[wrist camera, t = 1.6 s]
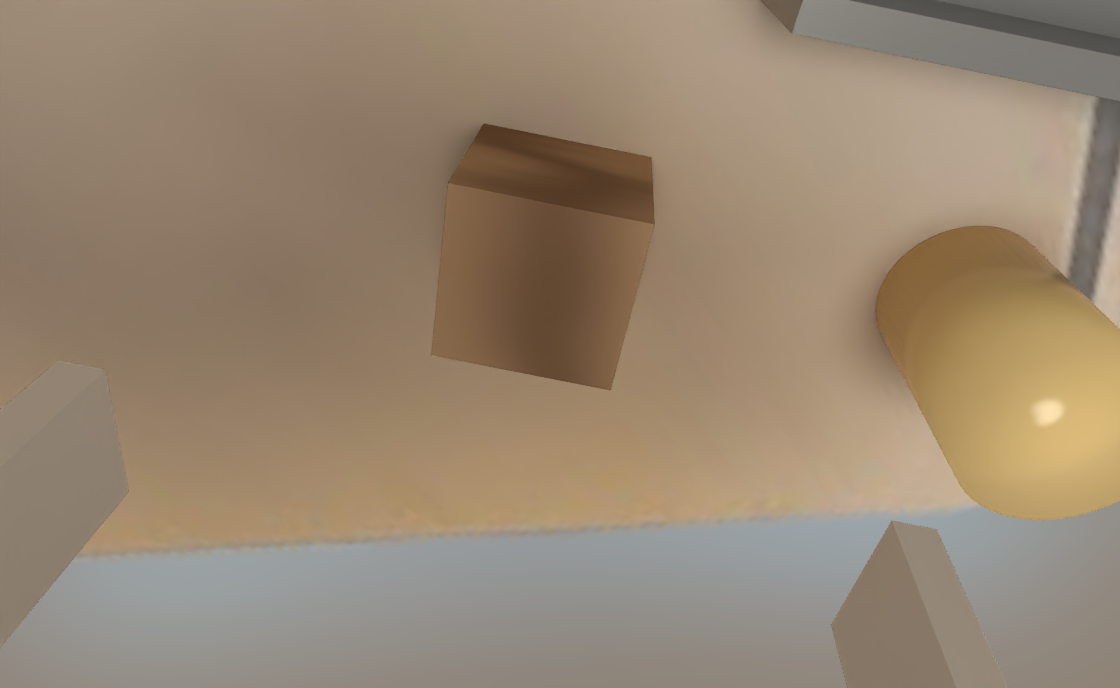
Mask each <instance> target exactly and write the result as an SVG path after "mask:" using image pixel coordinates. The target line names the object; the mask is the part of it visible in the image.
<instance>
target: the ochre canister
mask: <svg viewBox="0 0 1120 688" xmlns="http://www.w3.org/2000/svg"><path fill="white" fill-rule="evenodd" d="M876 320H877V324H878V328H879V330H880V333H881V335H882V337H883V339H884V341H885V343H886V345H887V346H888V348H889V350H890V352H891V354H892V356H893V358H894V360H895V362H896V364H897V366H898V368H899V369H900V371H901V373H902V375H903V377H904V379H905V381H906V383H907V385H908V387H909V389H910V391H911V392H912V394H913V396H914V398H915V400H916V402H917V404H918V406H919V408H920V410H921V412H922V414H923V415H924V417H925V419H926V421H927V423H928V425H929V427H930V429H931V431H932V433H933V435H934V437H935V438H936V440H937V442H938V444H939V446H940V448H941V450H942V452H943V454H944V456H945V458H946V460H947V462H948V463H949V465H950V467H951V469H952V471H953V473H954V475H955V477H956V479H957V481H958V483H959V484H960V486H961V487H962V489H963V490H964V492H965V493H966V494H967V495H968V496H969V497H970V498H971V499H973V500H974V501H975V502H977V503H978V504H979V505H981V506H983V507H985V508H987V509H988V510H990V511H993V512H996V513H998V514H1001V515H1005V516H1010V517H1013V518H1020V519H1029V520H1049V519H1059V518H1068V517H1073V516H1077V515H1082V514H1086V513H1089V512H1093V511H1096V510H1099V509H1101V508H1103V507H1106V506H1109V505H1111V504H1114V503H1116V502H1118V501H1120V329H1119V328H1118V327H1117V326H1116V325H1115V324H1114V323H1113V322H1112V321H1111V320H1110V319H1109V318H1108V317H1107V316H1106V315H1105V314H1104V313H1102V312H1101V311H1100V310H1099V309H1098V308H1097V307H1096V306H1095V305H1094V304H1093V303H1092V302H1091V301H1090V300H1089V299H1088V298H1087V297H1086V296H1085V295H1084V294H1083V293H1082V292H1081V291H1080V290H1078V289H1077V288H1076V287H1075V286H1074V285H1073V284H1072V283H1071V282H1070V281H1069V280H1068V279H1067V278H1066V277H1065V276H1064V275H1063V274H1062V273H1061V272H1060V271H1059V270H1058V269H1057V268H1056V267H1055V266H1053V265H1052V264H1051V263H1050V262H1049V261H1048V260H1047V259H1046V258H1045V257H1044V256H1043V255H1042V254H1041V253H1040V252H1039V251H1038V250H1037V249H1036V248H1035V247H1034V246H1033V245H1031V244H1030V243H1029V242H1028V241H1027V240H1026V239H1024V238H1023V237H1021V236H1019V235H1018V234H1015V233H1013V232H1011V231H1008V230H1005V229H1001V228H997V227H990V226H971V227H962V228H958V229H953V230H949V231H946V232H943V233H940V234H938V235H936V236H933V237H931V238H929V239H927V240H925V241H924V242H922V243H920V244H918V245H917V246H916V247H914V248H913V249H911V250H910V251H909V252H907V253H906V254H905V255H904V256H903V257H902V258H901V259H900V260H899V261H898V262H897V263H896V264H895V265H894V266H893V268H892V269H891V270H890V272H889V273H888V275H887V276H886V278H885V280H884V282H883V283H882V286H881V288H880V291H879V293H878V297H877V302H876Z"/></svg>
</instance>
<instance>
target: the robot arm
mask: <svg viewBox="0 0 1120 688" xmlns="http://www.w3.org/2000/svg"><path fill="white" fill-rule="evenodd" d="M128 492H129V489H128V484H127V479H126V474H125V469H124V463H123V458H122V453H121V448H120V443H119V438H118V432H117V427H116V422H115V417H114V412H113V407H112V401H111V396H110V391H109V386H108V381H107V376H106V370H105V369H101V368H96V367H91V366H85V365H80V364H75V363H70V362H65V361H59V360H58V361H57V362H56V363H55V364H54V365H52V366H51V367H50V368H49V369H48V370H47V371H45V372H44V373H43V374H42V375H41V376H39V377H38V378H37V379H36V380H35V381H33V382H32V383H31V384H30V385H29V386H28V387H26V388H25V389H24V390H23V391H22V392H20V393H19V394H18V395H17V396H16V397H15V398H13V399H12V400H11V401H10V402H9V403H7V404H6V405H5V406H4V407H3V408H2V409H0V648H1V646H2V645H3V644H4V643H5V642H6V640H7V639H8V638H9V637H10V635H11V634H12V633H13V632H14V631H15V629H16V628H17V627H18V626H19V624H20V623H21V622H22V621H23V620H24V618H25V617H26V616H27V615H28V614H29V612H30V611H31V610H32V609H33V607H34V606H35V605H36V604H37V603H38V601H39V600H40V599H41V598H42V597H43V595H44V594H45V593H46V592H47V590H48V589H49V588H50V587H51V586H52V584H53V583H54V582H55V581H56V579H57V578H58V577H59V576H60V575H61V573H62V572H63V571H64V570H65V569H66V567H67V566H68V565H69V564H70V562H71V561H72V560H73V559H74V558H75V556H76V555H77V554H78V553H79V551H80V550H81V549H82V548H83V547H84V545H85V544H86V543H87V542H88V541H89V539H90V538H91V537H92V536H93V534H94V533H95V532H96V531H97V530H98V528H99V527H100V526H101V525H102V523H103V522H104V521H105V520H106V519H107V517H108V516H109V515H110V514H111V513H112V511H113V510H114V509H115V508H116V506H117V505H118V504H119V503H120V502H121V500H122V499H123V498H124V497H125V495H126V494H127V493H128ZM831 626H832V630H833V634H834V638H835V642H836V646H837V650H838V654H839V658H840V662H841V666H842V670H843V674H844V677H845V681H846V685H847V688H1008V686H1007V684H1006V682H1005V680H1004V677H1003V675H1002V673H1001V671H1000V668H999V666H998V664H997V662H996V660H995V657H994V655H993V653H992V651H991V648H990V646H989V644H988V642H987V640H986V637H985V635H984V633H983V631H982V629H981V626H980V624H979V622H978V620H977V617H976V615H975V613H974V611H973V609H972V606H971V604H970V602H969V600H968V597H967V596H966V593H965V591H964V589H963V587H962V584H961V582H960V580H959V577H958V575H957V573H956V571H955V569H954V566H953V564H952V562H951V560H950V557H949V555H948V553H947V551H946V549H945V546H944V544H943V542H942V540H941V538H940V535H939V533H938V531H937V529H933V528H928V527H922V526H917V525H912V524H907V523H902V522H896V521H891V523H890V524H889V526H888V528H887V530H886V531H885V533H884V535H883V537H882V538H881V540H880V542H879V543H878V545H877V547H876V549H875V550H874V552H873V554H872V555H871V557H870V559H869V560H868V562H867V564H866V566H865V567H864V569H863V571H862V573H861V574H860V576H859V578H858V580H857V581H856V583H855V584H854V586H853V588H852V590H851V592H850V593H849V595H848V596H847V598H846V600H845V602H844V603H843V605H842V607H841V609H840V610H839V612H838V614H837V615H836V617H835V619H834V621H833V622H832V624H831Z"/></svg>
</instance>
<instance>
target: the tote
mask: <svg viewBox="0 0 1120 688" xmlns="http://www.w3.org/2000/svg"><path fill="white" fill-rule="evenodd" d="M761 1H762V2H763V3H764V4H765V5H766V6H767V7H768V8H769V9H770V10H771V11H772V13H773V14H774V15H775V16H776V17H777V18H778V19H779V20H780V21H781V22H782V23H783V24H784V25H785V27H786V28H787V29H788V30H789V31H790V32H791V33H792V34H796V35H801V36H806V37H811V38H815V39H820V40H825V41H830V42H835V43H840V44H845V45H849V46H854V47H859V48H864V49H869V50H874V51H878V52H883V53H888V54H893V55H898V56H903V57H908V58H912V59H917V60H922V61H927V62H932V63H937V64H941V65H946V66H951V67H956V68H961V69H966V70H970V71H975V72H980V73H985V74H990V75H995V76H1000V77H1004V78H1009V79H1014V80H1019V81H1024V82H1029V83H1033V84H1038V85H1043V86H1048V87H1053V88H1058V89H1062V90H1067V91H1072V92H1077V93H1082V94H1087V95H1092V96H1096V97H1101V98H1106V99H1111V100H1116V101H1120V0H761Z"/></svg>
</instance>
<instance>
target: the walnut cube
mask: <svg viewBox="0 0 1120 688" xmlns="http://www.w3.org/2000/svg"><path fill="white" fill-rule="evenodd" d="M653 228H654V203H653V181H652V159H651V157H646V156H641V155H636V154H631V153H627V152H622V151H617V150H612V149H607V148H602V147H597V146H592V145H587V144H582V143H577V142H572V141H567V140H562V139H557V138H552V137H547V136H542V135H538V134H533V133H528V132H523V131H518V130H513V129H508V128H503V127H498V126H493V125H488V124H483V126H482V128H481V129H480V131H479V133H478V134H477V136H476V138H475V139H474V141H473V143H472V144H471V146H470V148H469V149H468V151H467V153H466V154H465V156H464V158H463V159H462V161H461V163H460V164H459V166H458V168H457V169H456V171H455V173H454V174H453V176H452V178H451V179H450V181H449V182H448V189H447V200H446V210H445V220H444V230H443V240H442V250H441V260H440V270H439V280H438V291H437V301H436V311H435V321H434V331H433V341H432V351H431V355H433V356H438V357H443V358H448V359H453V360H459V361H464V362H469V363H474V364H479V365H484V366H489V367H494V368H499V369H505V370H510V371H515V372H520V373H525V374H530V375H535V376H540V377H545V378H550V379H556V380H561V381H566V382H571V383H576V384H581V385H586V386H591V387H596V388H602V389H607V390H611V387H612V383H613V379H614V375H615V372H616V368H617V364H618V360H619V356H620V353H621V349H622V345H623V341H624V338H625V334H626V330H627V326H628V323H629V319H630V315H631V311H632V307H633V304H634V300H635V296H636V292H637V289H638V285H639V281H640V277H641V274H642V270H643V266H644V262H645V258H646V255H647V251H648V247H649V243H650V240H651V236H652V232H653Z"/></svg>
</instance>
